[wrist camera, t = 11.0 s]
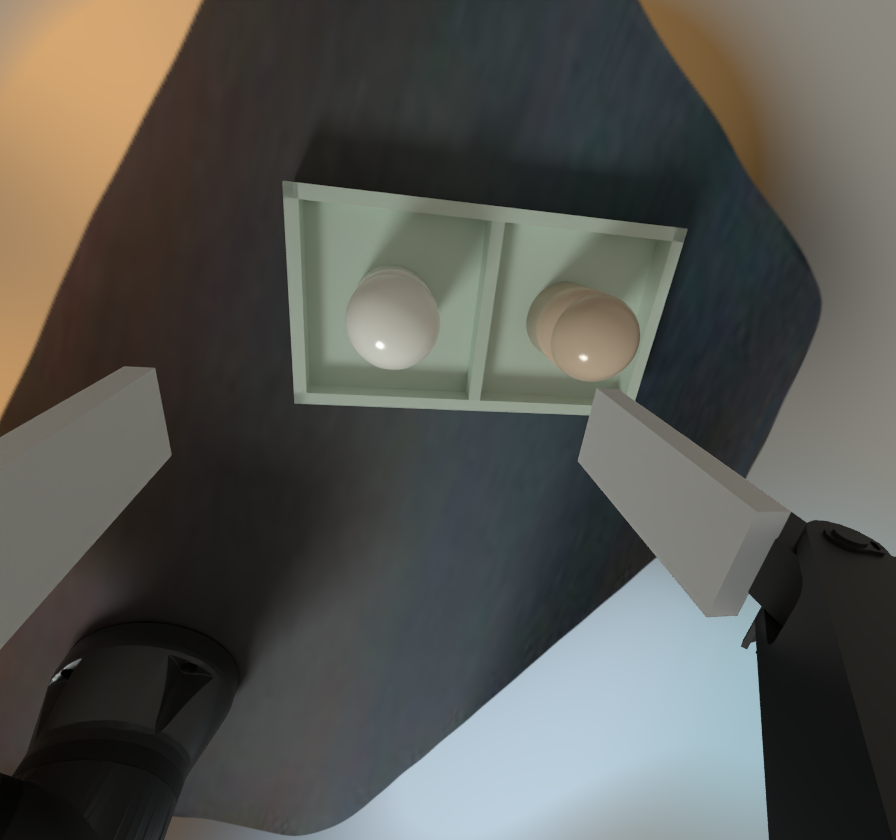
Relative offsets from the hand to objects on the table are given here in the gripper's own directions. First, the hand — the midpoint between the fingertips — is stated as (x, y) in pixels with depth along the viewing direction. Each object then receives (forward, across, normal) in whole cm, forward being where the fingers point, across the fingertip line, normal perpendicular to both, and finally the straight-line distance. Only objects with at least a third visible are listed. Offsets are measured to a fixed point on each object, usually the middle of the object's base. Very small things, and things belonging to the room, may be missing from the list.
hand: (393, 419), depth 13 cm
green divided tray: (+18, +6, 0) cm, 19 cm away
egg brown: (+17, +12, 0) cm, 21 cm away
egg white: (+17, 0, 0) cm, 17 cm away
